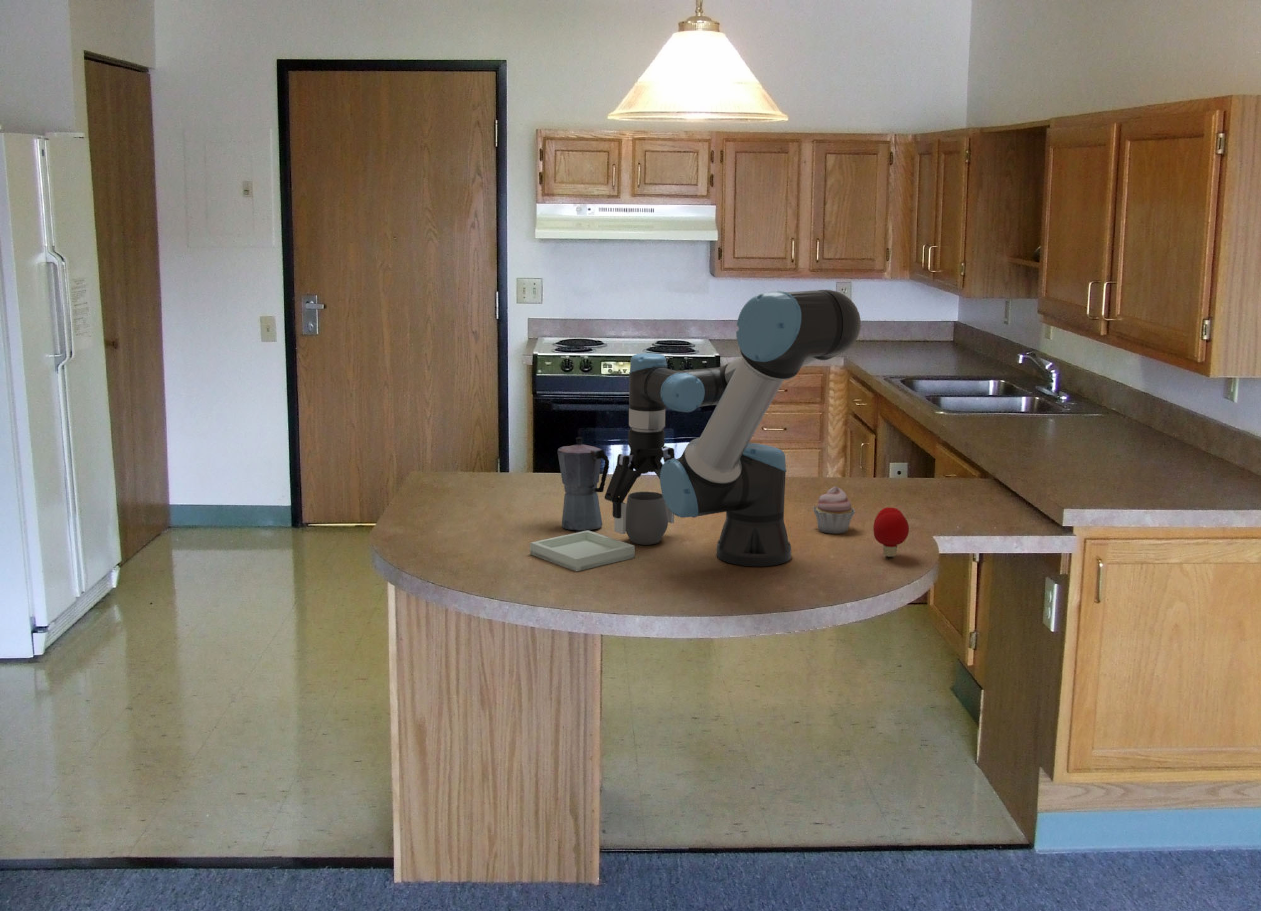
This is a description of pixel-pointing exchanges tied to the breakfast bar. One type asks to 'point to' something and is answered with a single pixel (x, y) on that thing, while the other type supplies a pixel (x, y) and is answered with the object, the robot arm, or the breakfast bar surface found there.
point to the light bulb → (890, 530)
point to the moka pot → (582, 485)
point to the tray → (582, 550)
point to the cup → (646, 517)
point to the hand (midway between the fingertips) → (644, 527)
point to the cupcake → (834, 512)
